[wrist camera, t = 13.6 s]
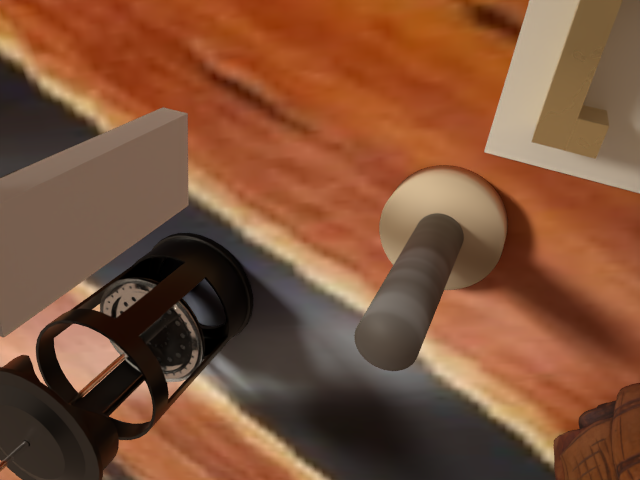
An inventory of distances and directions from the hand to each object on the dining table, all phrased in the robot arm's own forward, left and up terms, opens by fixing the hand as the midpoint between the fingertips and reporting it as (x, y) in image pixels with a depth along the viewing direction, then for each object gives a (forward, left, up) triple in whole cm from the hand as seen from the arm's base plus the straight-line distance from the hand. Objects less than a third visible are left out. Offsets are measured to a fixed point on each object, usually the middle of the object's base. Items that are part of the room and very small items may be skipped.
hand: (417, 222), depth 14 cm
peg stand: (+9, -1, -20) cm, 22 cm away
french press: (+21, -18, -20) cm, 34 cm away
